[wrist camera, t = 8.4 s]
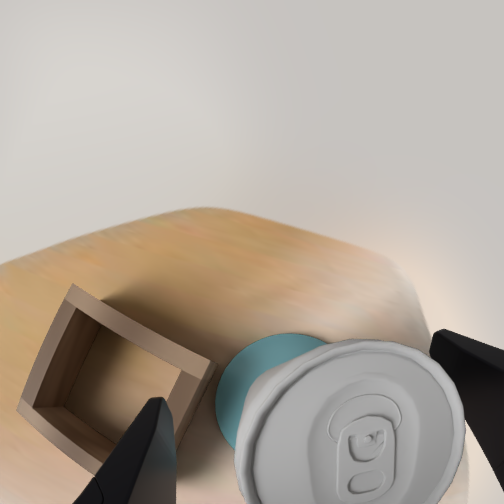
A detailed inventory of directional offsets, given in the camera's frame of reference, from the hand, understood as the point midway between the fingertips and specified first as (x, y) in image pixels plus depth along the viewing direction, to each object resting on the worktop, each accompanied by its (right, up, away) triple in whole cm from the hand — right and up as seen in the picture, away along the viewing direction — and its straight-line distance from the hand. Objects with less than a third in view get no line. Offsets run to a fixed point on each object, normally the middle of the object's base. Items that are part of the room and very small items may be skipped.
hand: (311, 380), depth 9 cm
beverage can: (0, -5, +7) cm, 8 cm away
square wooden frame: (-9, -4, +7) cm, 13 cm away
